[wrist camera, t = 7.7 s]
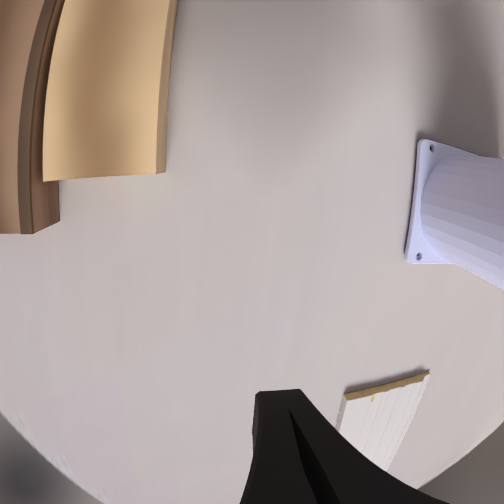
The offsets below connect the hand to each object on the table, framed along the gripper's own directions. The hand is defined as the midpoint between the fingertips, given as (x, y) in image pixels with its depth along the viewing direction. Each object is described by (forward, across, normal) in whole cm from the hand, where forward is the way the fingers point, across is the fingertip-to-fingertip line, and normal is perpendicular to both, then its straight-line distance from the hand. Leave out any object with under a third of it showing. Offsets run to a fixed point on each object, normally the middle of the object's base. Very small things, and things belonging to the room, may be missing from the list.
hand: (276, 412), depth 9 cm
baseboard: (+10, -14, +24) cm, 29 cm away
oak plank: (+10, +8, -16) cm, 21 cm away
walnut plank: (+9, +15, -16) cm, 24 cm away
